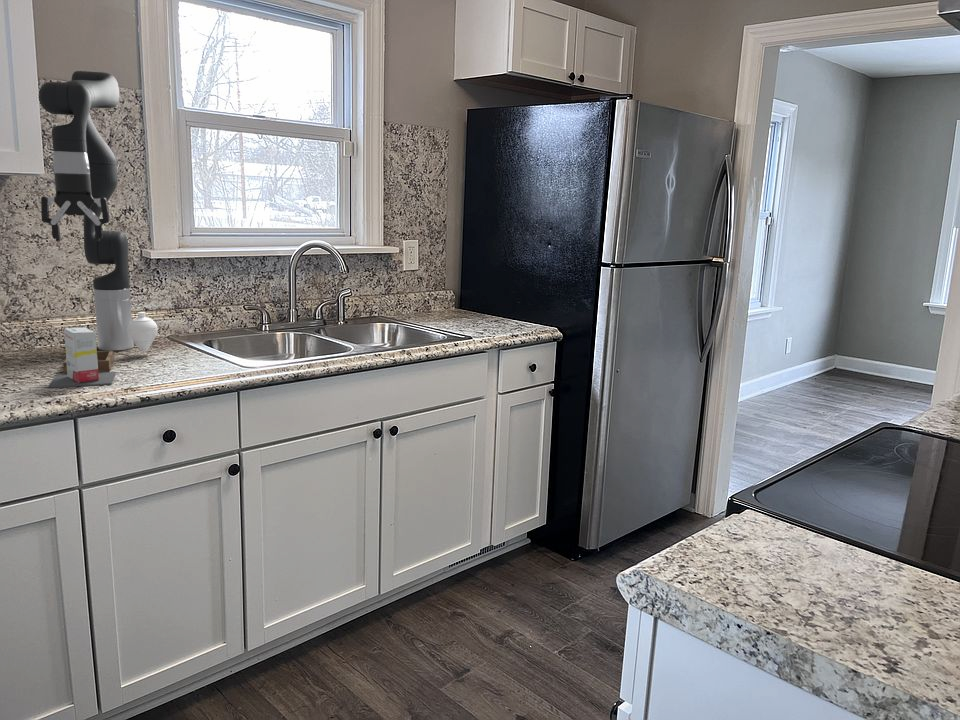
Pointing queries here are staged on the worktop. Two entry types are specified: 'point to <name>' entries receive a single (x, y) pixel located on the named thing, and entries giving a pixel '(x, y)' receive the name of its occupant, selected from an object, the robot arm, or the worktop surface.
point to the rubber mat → (65, 381)
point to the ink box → (81, 354)
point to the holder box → (100, 361)
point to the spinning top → (142, 331)
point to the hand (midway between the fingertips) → (78, 240)
